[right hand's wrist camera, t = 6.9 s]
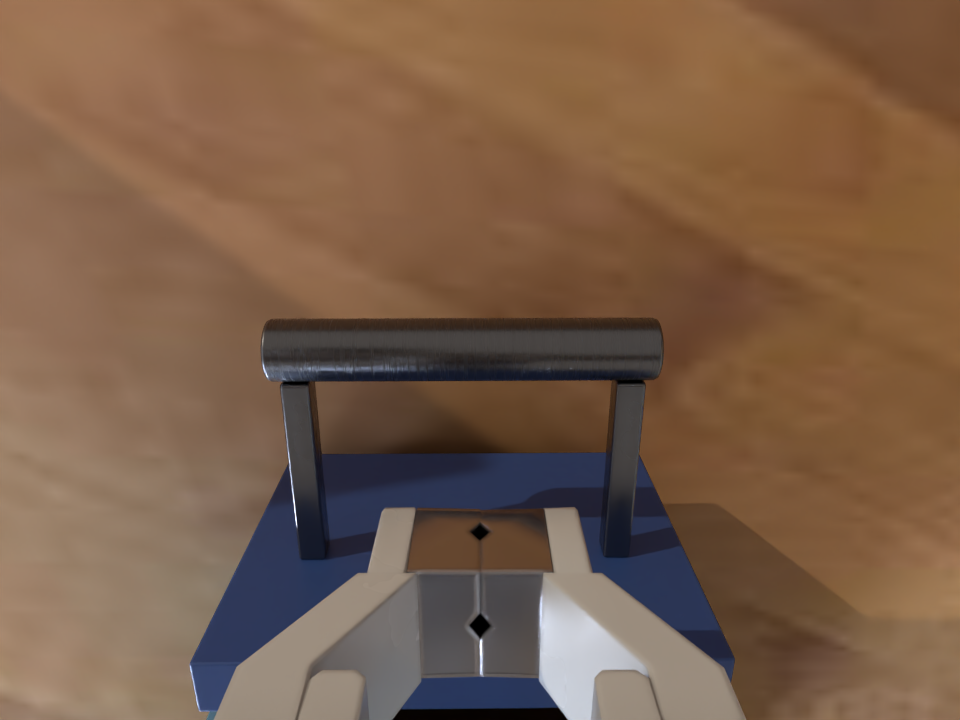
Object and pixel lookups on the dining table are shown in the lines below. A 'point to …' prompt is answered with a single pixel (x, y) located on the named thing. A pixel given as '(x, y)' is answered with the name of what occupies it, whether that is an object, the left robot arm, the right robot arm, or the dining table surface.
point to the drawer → (452, 488)
